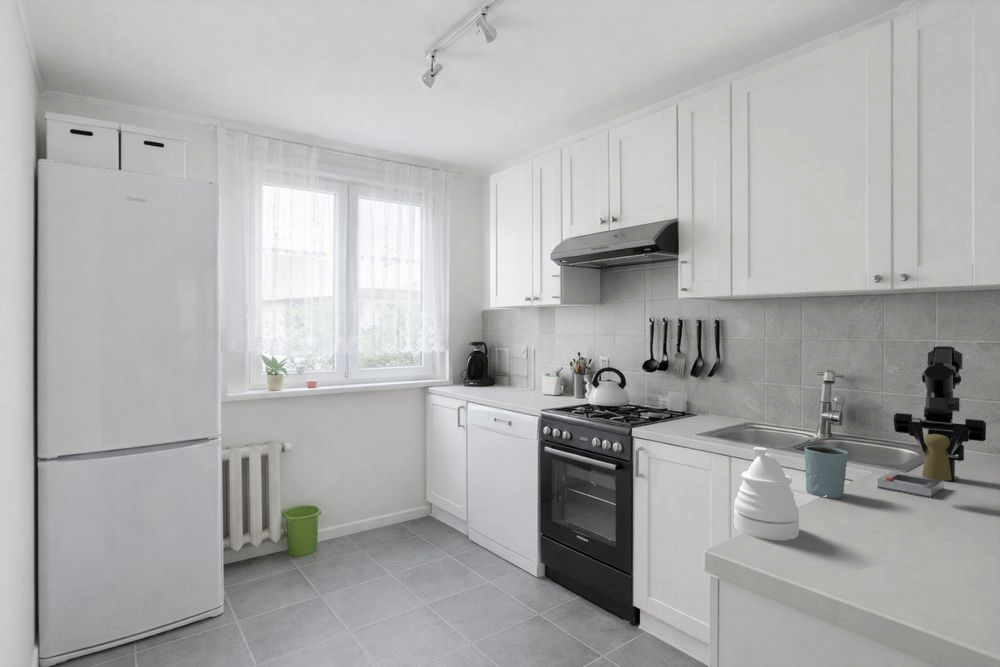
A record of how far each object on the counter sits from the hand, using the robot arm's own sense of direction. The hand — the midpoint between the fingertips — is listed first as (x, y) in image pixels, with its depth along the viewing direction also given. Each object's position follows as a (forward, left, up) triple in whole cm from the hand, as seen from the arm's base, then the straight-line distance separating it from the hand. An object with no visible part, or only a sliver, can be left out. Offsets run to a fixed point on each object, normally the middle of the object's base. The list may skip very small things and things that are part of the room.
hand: (936, 452), depth 138 cm
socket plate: (-12, -8, -13) cm, 20 cm away
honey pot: (+53, -19, -13) cm, 58 cm away
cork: (-1, 0, -7) cm, 7 cm away
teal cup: (+13, -21, -13) cm, 28 cm away
